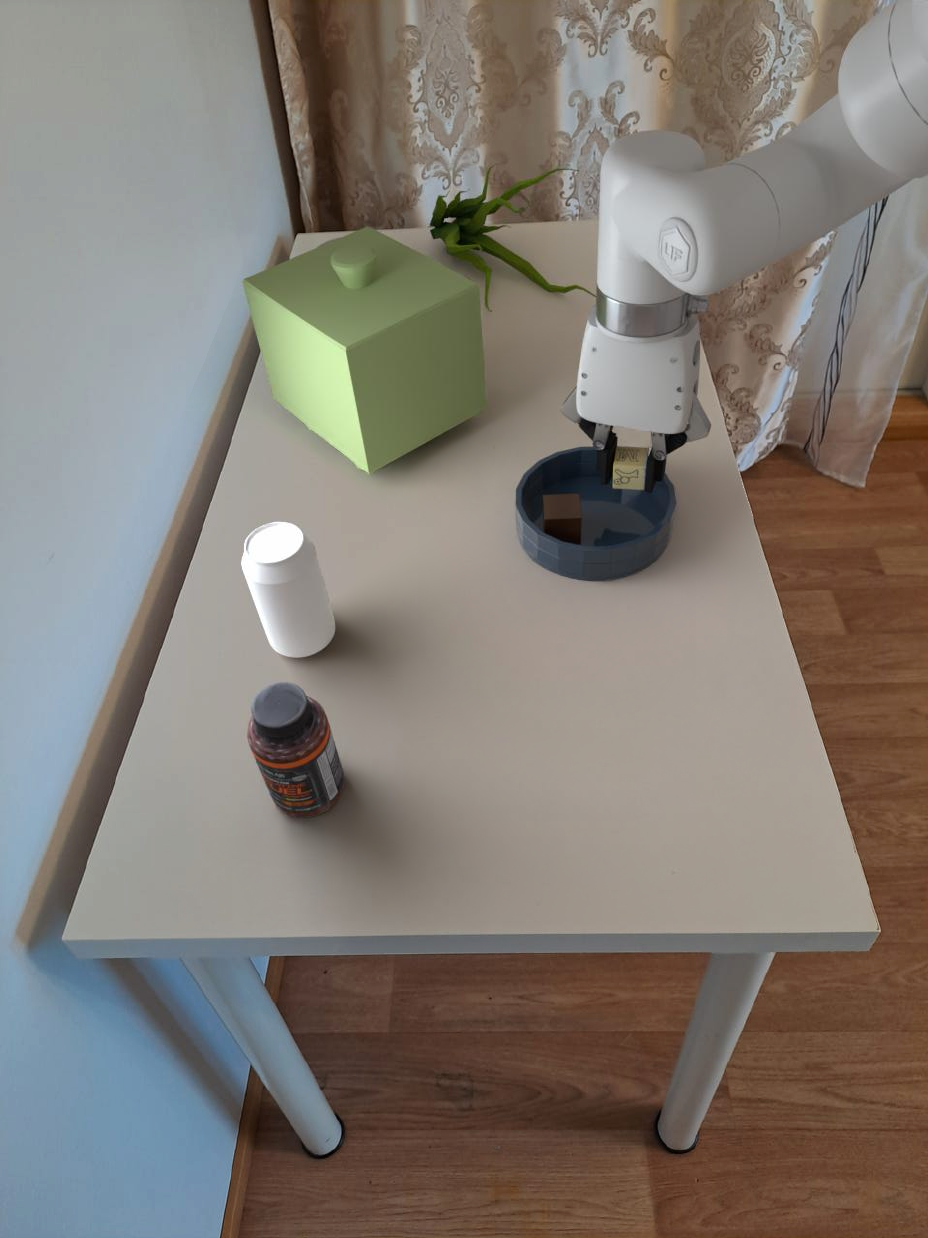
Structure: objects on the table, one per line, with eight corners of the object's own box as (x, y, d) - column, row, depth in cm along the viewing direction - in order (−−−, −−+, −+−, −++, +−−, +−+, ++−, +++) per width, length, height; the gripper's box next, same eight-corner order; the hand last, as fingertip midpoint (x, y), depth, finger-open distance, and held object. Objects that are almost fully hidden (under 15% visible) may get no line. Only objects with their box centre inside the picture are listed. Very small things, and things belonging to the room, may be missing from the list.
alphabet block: (644, 492, 86) (647, 466, 83) (611, 489, 86) (613, 464, 84) (647, 471, 88) (649, 446, 85) (614, 469, 88) (616, 444, 86)
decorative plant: (471, 348, 113) (463, 233, 102) (428, 242, 133) (417, 136, 122) (610, 323, 114) (616, 207, 103) (547, 222, 134) (547, 115, 123)
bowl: (686, 492, 92) (691, 461, 89) (650, 596, 83) (654, 565, 80) (544, 465, 97) (543, 435, 94) (495, 561, 87) (493, 531, 84)
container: (488, 426, 102) (478, 255, 87) (372, 492, 96) (339, 320, 81) (388, 360, 112) (364, 198, 97) (278, 416, 106) (233, 252, 91)
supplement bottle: (262, 818, 70) (223, 735, 62) (283, 753, 74) (249, 667, 66) (337, 824, 70) (307, 741, 61) (353, 759, 73) (328, 672, 65)
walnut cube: (578, 520, 90) (579, 493, 87) (580, 544, 87) (581, 517, 85) (543, 521, 90) (543, 494, 87) (544, 546, 88) (544, 519, 85)
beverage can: (304, 674, 80) (273, 579, 71) (256, 644, 82) (220, 549, 74) (351, 629, 83) (327, 533, 74) (302, 602, 86) (273, 506, 77)
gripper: (755, 291, 73) (724, 471, 87) (558, 270, 78) (558, 442, 92) (738, 340, 69) (708, 521, 82) (530, 313, 74) (535, 489, 87)
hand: (629, 478), depth 87 cm, fingers closed on alphabet block, 3 cm apart
